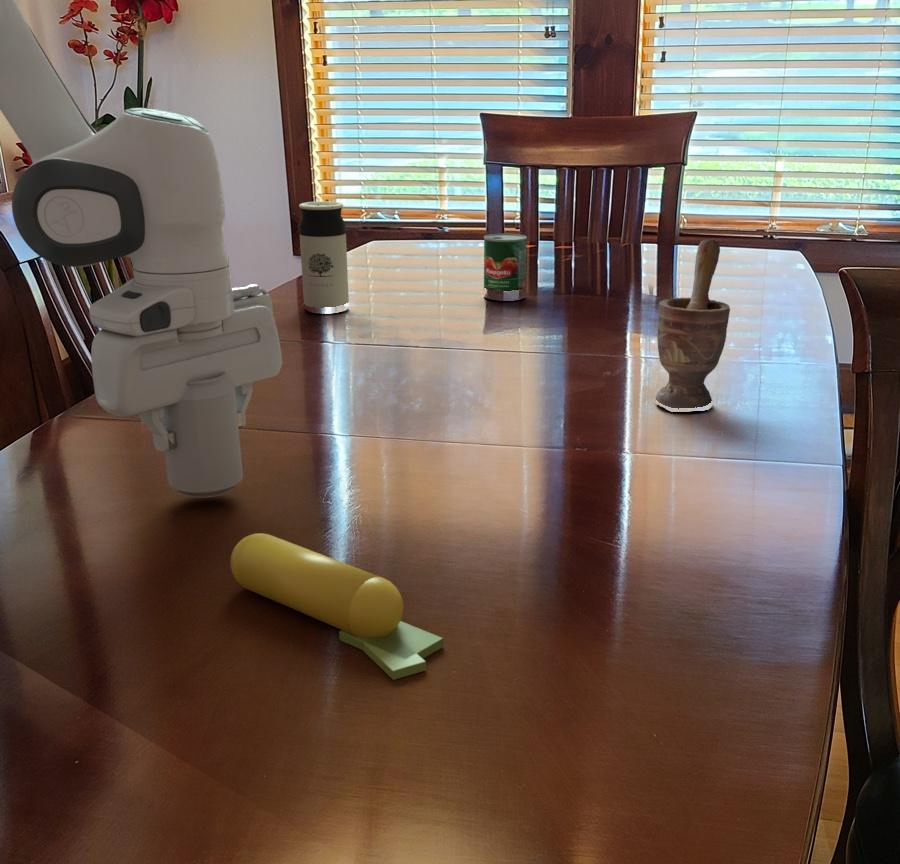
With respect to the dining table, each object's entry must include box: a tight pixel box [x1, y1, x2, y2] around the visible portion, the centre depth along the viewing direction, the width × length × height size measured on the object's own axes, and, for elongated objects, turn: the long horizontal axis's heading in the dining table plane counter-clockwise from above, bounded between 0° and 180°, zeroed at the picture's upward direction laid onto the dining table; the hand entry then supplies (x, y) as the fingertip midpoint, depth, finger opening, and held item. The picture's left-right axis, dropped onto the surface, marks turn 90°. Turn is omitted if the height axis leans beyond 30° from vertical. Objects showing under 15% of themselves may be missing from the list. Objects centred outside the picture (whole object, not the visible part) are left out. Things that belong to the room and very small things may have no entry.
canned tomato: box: [483, 233, 528, 291], centre depth 199 cm, size 8×8×11 cm
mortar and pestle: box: [655, 238, 731, 409], centre depth 137 cm, size 12×9×20 cm
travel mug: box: [298, 201, 350, 308], centre depth 188 cm, size 8×8×18 cm
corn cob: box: [230, 532, 444, 681], centre depth 86 cm, size 22×6×5 cm, turn 50°
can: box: [159, 372, 244, 499], centre depth 107 cm, size 8×8×12 cm
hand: (201, 438), depth 108 cm, fingers closed on can, 7 cm apart
